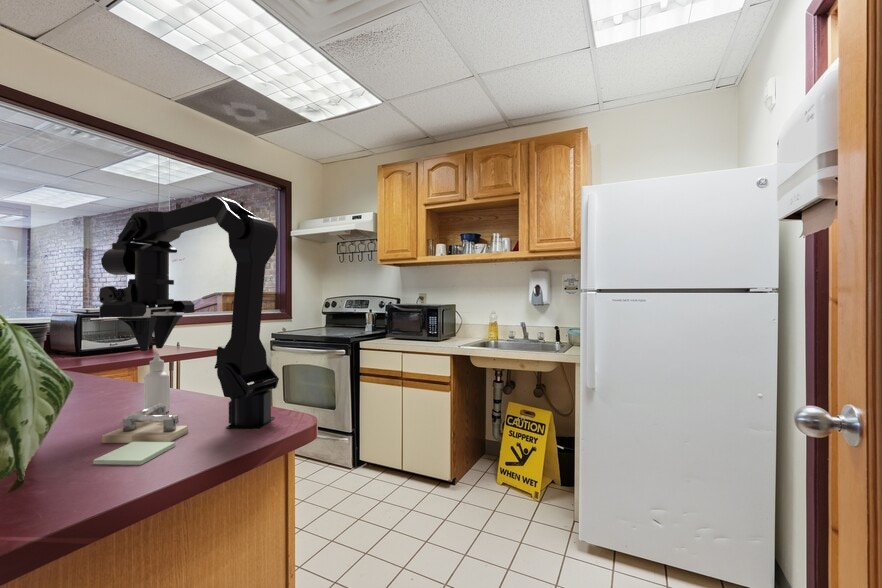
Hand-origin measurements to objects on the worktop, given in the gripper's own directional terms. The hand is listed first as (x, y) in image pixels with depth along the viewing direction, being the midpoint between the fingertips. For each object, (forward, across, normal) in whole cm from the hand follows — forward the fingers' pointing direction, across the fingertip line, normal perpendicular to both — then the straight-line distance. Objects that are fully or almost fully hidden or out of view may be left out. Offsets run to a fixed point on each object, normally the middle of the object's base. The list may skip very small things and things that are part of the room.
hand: (151, 349), depth 81 cm
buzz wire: (+13, +11, +11) cm, 20 cm away
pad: (+13, +21, +14) cm, 28 cm away
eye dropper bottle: (+13, 0, +1) cm, 13 cm away
